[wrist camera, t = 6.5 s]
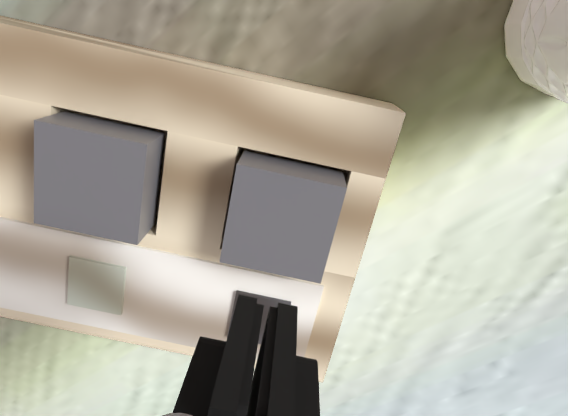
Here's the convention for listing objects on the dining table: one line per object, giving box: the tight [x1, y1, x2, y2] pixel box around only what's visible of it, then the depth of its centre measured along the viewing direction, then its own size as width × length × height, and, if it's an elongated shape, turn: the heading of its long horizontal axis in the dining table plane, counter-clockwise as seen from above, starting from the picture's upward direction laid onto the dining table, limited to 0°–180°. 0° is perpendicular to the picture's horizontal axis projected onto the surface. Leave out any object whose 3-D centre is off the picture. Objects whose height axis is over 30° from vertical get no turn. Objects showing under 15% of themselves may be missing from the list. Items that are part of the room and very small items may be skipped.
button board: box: [0, 16, 406, 383], centre depth 24 cm, size 16×27×4 cm, turn 78°
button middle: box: [34, 111, 165, 245], centre depth 21 cm, size 5×5×3 cm
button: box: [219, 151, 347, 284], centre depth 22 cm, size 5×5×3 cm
